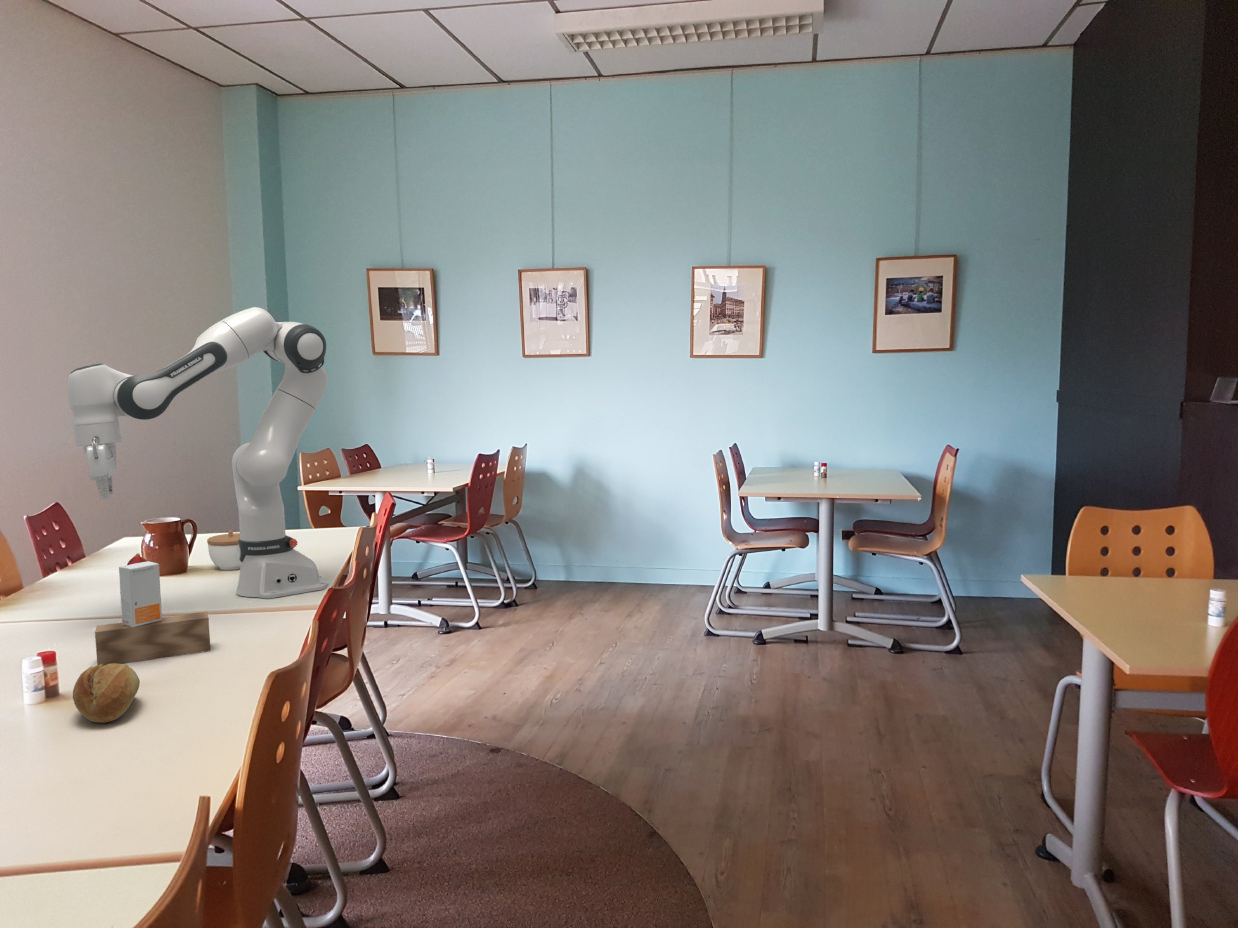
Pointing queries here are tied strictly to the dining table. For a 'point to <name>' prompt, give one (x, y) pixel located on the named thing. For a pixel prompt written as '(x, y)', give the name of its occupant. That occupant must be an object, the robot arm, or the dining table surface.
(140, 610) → the skincare box
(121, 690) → the bread roll
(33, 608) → the dining table surface
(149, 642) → the ridge
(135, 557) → the onion
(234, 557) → the lidded bowl
